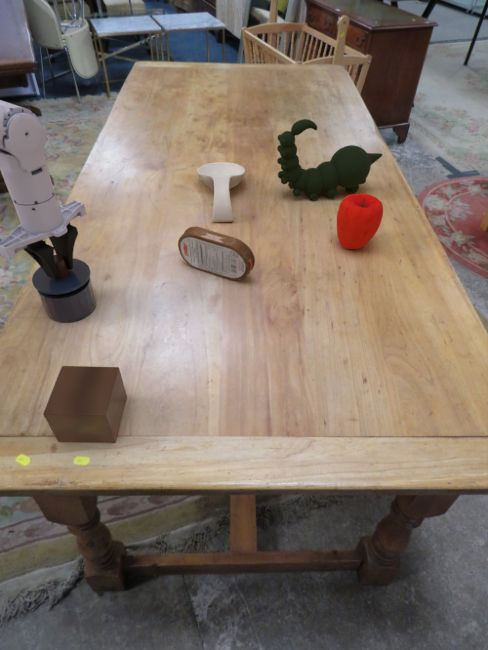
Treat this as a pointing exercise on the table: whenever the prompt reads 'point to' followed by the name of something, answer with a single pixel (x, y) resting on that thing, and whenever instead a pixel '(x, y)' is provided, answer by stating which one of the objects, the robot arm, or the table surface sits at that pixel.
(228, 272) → the tin
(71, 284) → the tin lid
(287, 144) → the toy figurine
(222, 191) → the spoon rest
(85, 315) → the grey short cylinder
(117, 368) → the riser
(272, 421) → the table surface
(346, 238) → the apple
